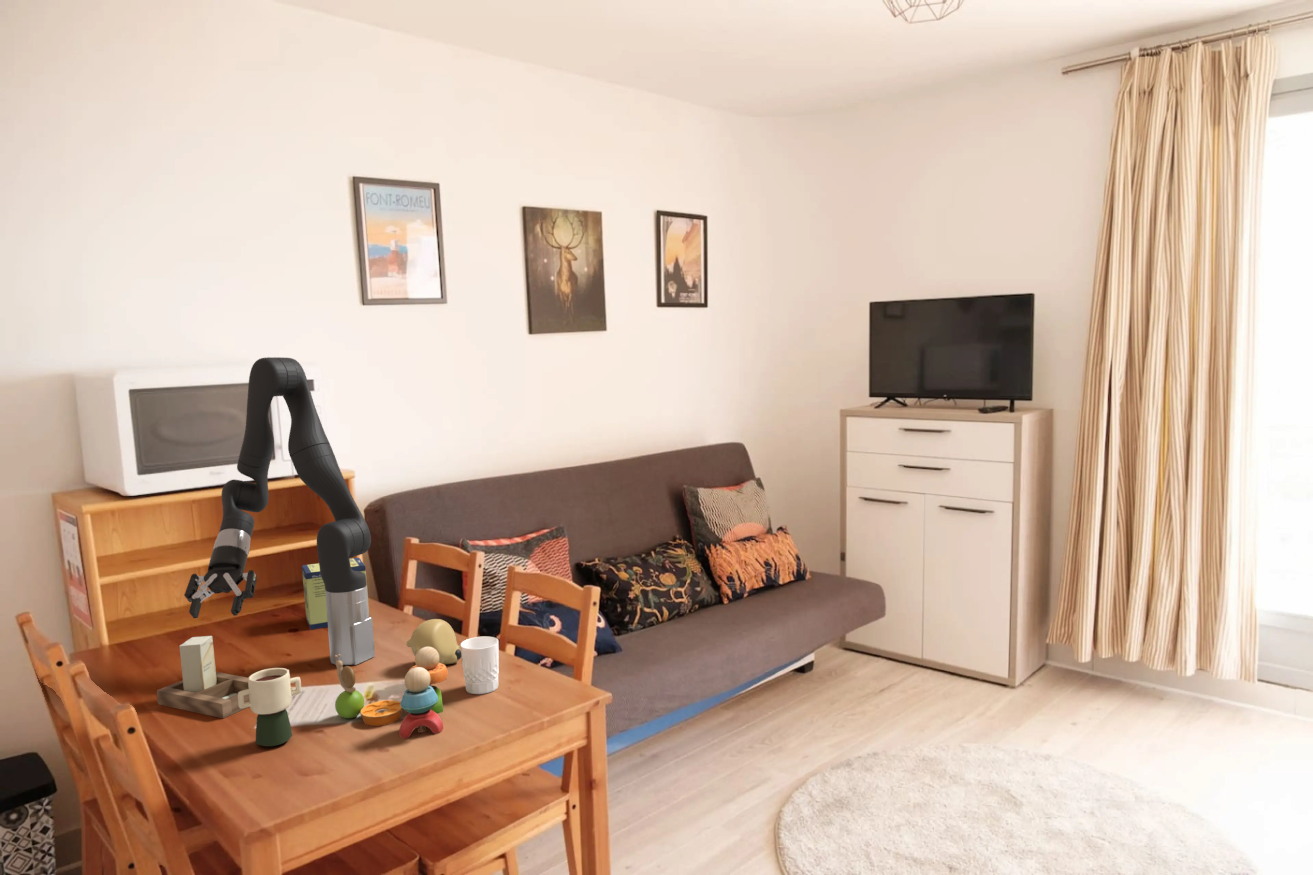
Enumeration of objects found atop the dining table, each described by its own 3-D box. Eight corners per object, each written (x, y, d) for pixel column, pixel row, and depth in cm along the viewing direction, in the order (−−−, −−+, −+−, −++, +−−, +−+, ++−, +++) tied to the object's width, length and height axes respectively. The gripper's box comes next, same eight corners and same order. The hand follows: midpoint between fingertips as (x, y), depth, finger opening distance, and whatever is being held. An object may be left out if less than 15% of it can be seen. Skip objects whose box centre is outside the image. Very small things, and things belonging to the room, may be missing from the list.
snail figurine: (353, 707, 173) (349, 650, 172) (370, 715, 168) (366, 656, 167) (328, 716, 169) (323, 658, 167) (345, 725, 164) (340, 665, 163)
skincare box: (205, 700, 179) (200, 644, 177) (183, 702, 178) (178, 645, 177) (218, 689, 185) (213, 634, 184) (197, 690, 185) (192, 636, 183)
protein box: (305, 620, 234) (300, 564, 233) (364, 610, 241) (360, 556, 240) (309, 630, 225) (304, 572, 223) (370, 620, 232) (366, 564, 231)
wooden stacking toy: (359, 712, 171) (355, 651, 169) (447, 696, 177) (443, 638, 176) (364, 749, 154) (359, 682, 153) (460, 731, 160) (456, 666, 159)
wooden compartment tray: (273, 695, 181) (272, 682, 180) (223, 718, 170) (222, 703, 170) (209, 683, 189) (208, 670, 189) (158, 704, 178) (156, 690, 178)
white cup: (464, 697, 176) (461, 650, 175) (462, 684, 183) (459, 638, 182) (502, 692, 178) (500, 646, 177) (499, 679, 185) (496, 634, 184)
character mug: (299, 727, 164) (294, 661, 163) (310, 739, 159) (305, 671, 157) (238, 744, 158) (232, 676, 156) (247, 758, 152) (241, 687, 151)
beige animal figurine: (445, 685, 192) (477, 647, 196) (408, 655, 187) (441, 616, 190) (430, 671, 201) (461, 635, 204) (394, 642, 195) (426, 605, 199)
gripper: (192, 546, 196) (173, 609, 185) (256, 542, 197) (241, 604, 186) (204, 563, 201) (187, 625, 191) (267, 559, 203) (253, 621, 192)
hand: (214, 615), depth 189 cm, fingers open, 8 cm apart
